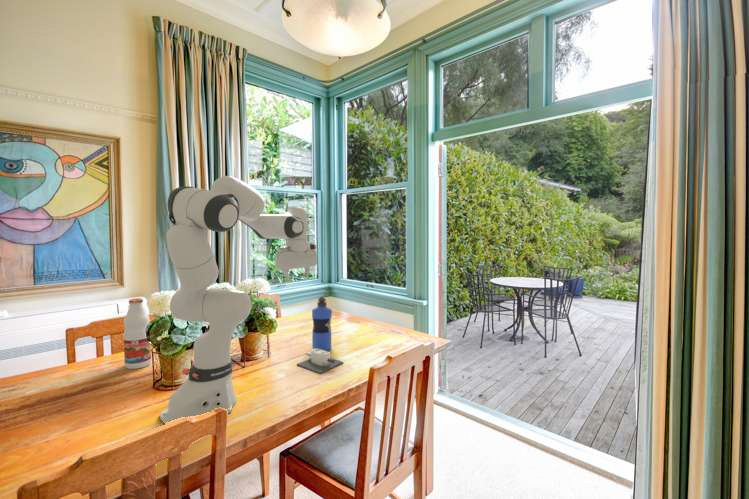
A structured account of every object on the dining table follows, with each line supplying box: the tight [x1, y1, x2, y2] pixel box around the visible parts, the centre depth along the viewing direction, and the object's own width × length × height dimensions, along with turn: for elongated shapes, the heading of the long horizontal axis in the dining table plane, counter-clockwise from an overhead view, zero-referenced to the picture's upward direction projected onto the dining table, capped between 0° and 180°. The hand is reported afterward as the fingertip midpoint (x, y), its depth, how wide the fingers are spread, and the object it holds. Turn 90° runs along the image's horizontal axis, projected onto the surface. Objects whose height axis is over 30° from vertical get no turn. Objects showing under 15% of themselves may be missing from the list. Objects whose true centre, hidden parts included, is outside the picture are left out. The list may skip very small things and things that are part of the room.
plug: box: [305, 348, 335, 367], centre depth 154 cm, size 15×4×5 cm, turn 53°
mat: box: [296, 357, 344, 375], centre depth 155 cm, size 14×14×1 cm
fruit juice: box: [123, 297, 152, 370], centre depth 150 cm, size 9×9×28 cm
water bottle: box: [311, 296, 333, 352], centre depth 173 cm, size 9×9×25 cm
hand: (297, 278), depth 152 cm, fingers open, 8 cm apart
